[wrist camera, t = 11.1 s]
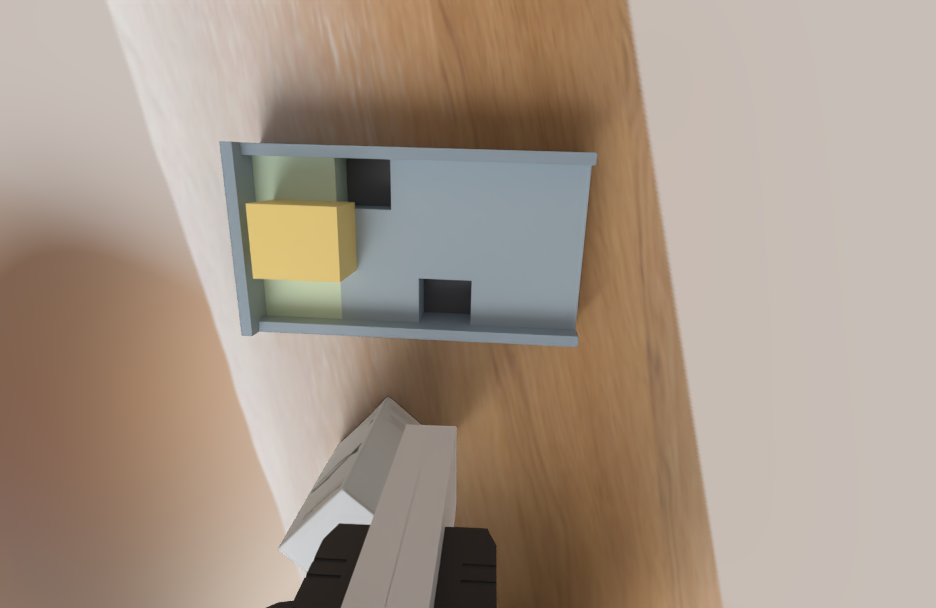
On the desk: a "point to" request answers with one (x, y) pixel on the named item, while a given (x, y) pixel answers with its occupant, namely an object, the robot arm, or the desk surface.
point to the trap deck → (422, 241)
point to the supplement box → (348, 482)
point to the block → (302, 240)
